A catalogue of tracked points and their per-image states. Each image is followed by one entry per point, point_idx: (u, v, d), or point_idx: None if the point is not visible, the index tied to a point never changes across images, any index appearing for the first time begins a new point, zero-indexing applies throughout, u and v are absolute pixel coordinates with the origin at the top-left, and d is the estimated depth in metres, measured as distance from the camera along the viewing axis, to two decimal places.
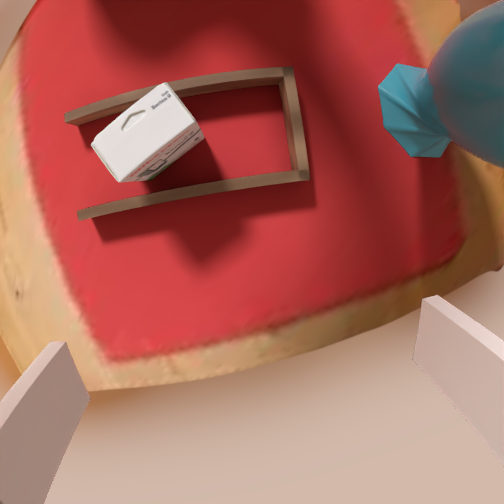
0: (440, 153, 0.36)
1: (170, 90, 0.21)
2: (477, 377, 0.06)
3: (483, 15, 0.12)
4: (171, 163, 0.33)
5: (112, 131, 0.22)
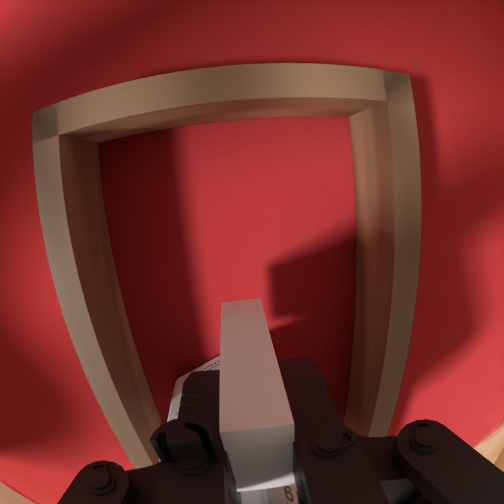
0: None
1: None
2: None
3: None
4: None
5: None
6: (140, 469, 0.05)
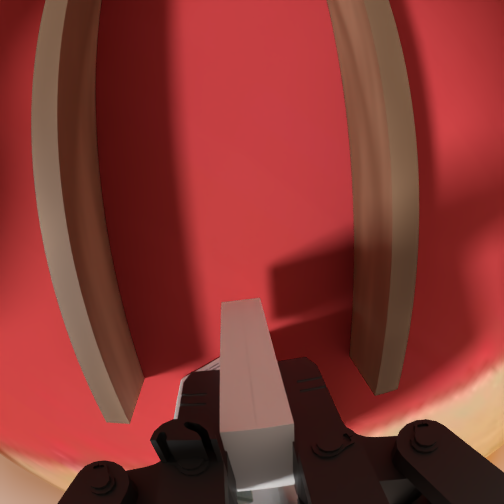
0: None
1: None
2: None
3: None
4: None
5: None
6: (140, 469, 0.05)
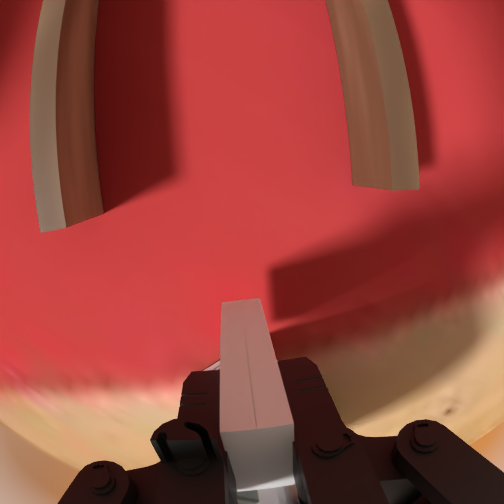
0: None
1: None
2: None
3: None
4: None
5: None
6: (139, 468, 0.05)
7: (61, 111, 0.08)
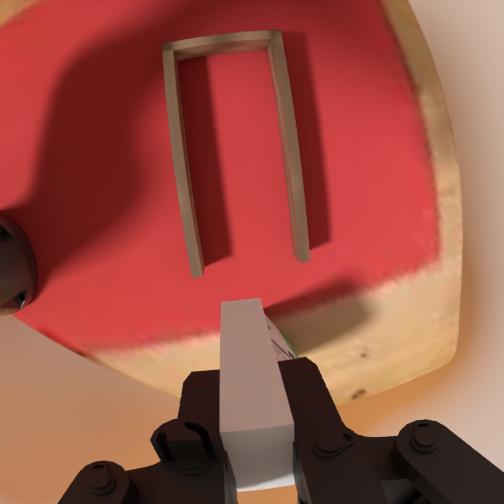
0: None
1: None
2: None
3: None
4: (283, 336, 0.39)
5: None
6: (140, 468, 0.05)
7: (196, 239, 0.33)
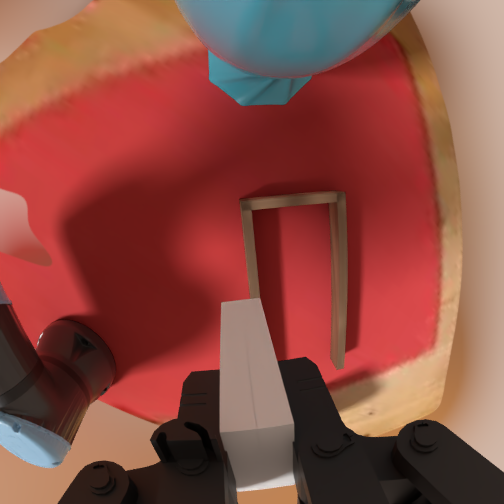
0: None
1: None
2: None
3: (224, 38, 0.15)
4: None
5: None
6: (140, 469, 0.05)
7: None
